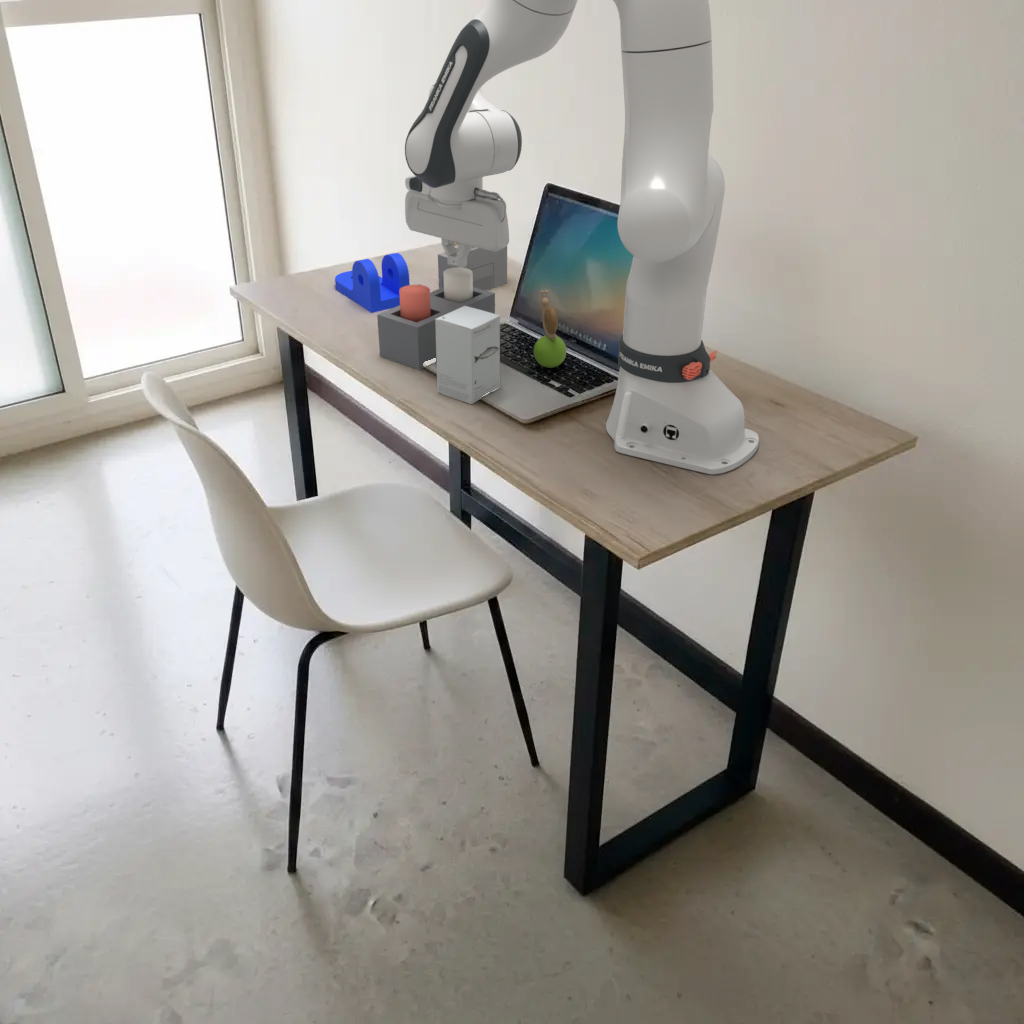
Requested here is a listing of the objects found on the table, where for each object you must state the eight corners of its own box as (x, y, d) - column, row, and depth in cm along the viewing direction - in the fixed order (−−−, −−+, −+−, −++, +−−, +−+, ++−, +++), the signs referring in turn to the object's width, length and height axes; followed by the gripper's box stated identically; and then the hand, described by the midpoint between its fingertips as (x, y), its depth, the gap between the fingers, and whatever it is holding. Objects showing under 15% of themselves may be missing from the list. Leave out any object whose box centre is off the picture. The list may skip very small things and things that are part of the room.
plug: (478, 307, 184) (478, 271, 181) (460, 315, 181) (459, 279, 178) (457, 301, 187) (456, 265, 184) (438, 309, 184) (437, 273, 180)
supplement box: (472, 405, 163) (471, 329, 156) (436, 393, 167) (433, 317, 160) (501, 389, 168) (501, 314, 161) (465, 377, 172) (464, 303, 165)
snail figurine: (557, 355, 179) (559, 288, 173) (570, 370, 174) (573, 301, 168) (527, 359, 178) (528, 291, 171) (539, 374, 173) (541, 305, 166)
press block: (494, 333, 187) (494, 293, 183) (419, 370, 174) (417, 327, 170) (456, 321, 192) (455, 282, 188) (379, 356, 179) (377, 314, 175)
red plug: (437, 326, 177) (436, 289, 174) (417, 335, 174) (415, 297, 170) (415, 319, 180) (413, 282, 176) (395, 328, 176) (393, 290, 173)
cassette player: (497, 280, 211) (497, 231, 206) (507, 284, 209) (507, 234, 204) (439, 300, 201) (437, 249, 196) (448, 303, 200) (447, 252, 195)
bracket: (410, 304, 200) (408, 258, 195) (371, 313, 196) (368, 266, 191) (366, 277, 212) (362, 233, 207) (328, 285, 208) (324, 240, 203)
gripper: (517, 190, 169) (516, 273, 177) (422, 169, 180) (425, 249, 187) (493, 199, 165) (493, 283, 172) (397, 177, 176) (401, 258, 183)
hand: (457, 265), depth 180 cm, fingers closed
